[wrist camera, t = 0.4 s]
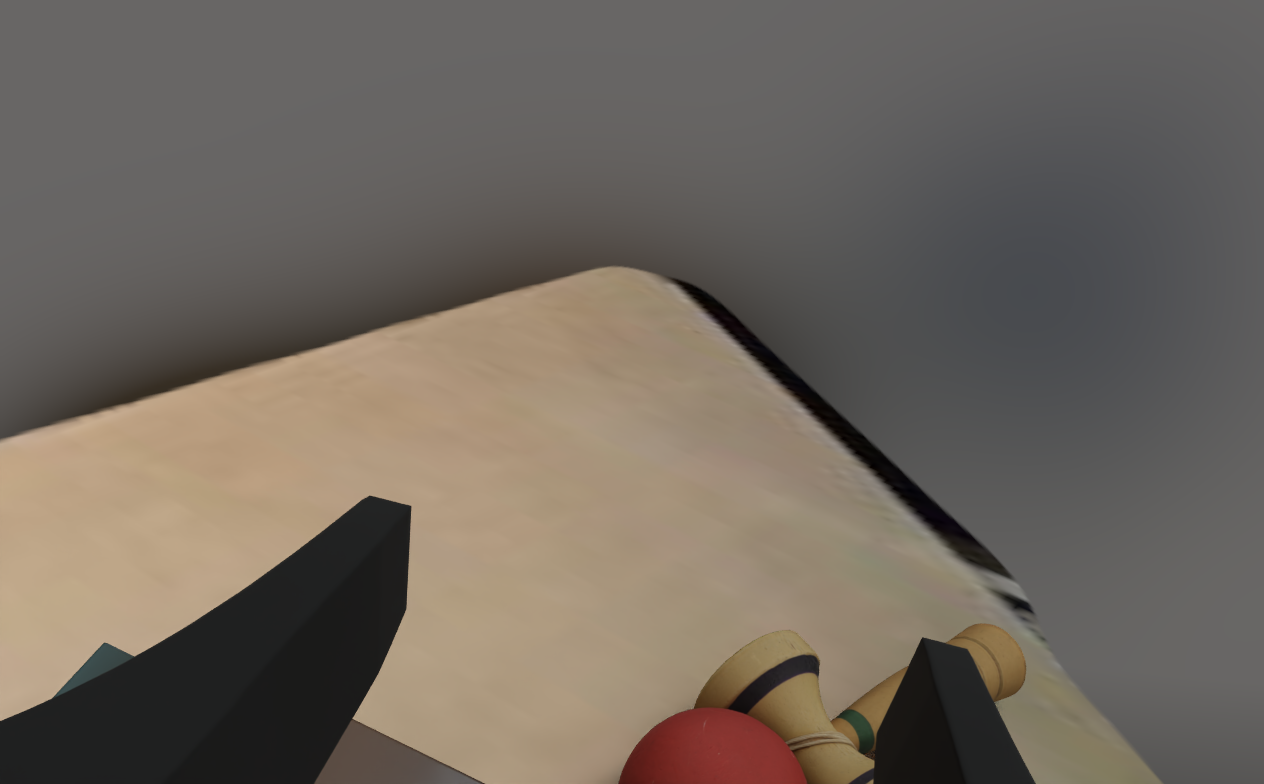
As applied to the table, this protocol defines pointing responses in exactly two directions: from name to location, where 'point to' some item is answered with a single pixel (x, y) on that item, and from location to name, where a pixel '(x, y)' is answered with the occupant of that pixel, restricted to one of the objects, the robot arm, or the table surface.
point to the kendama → (791, 718)
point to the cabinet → (383, 762)
